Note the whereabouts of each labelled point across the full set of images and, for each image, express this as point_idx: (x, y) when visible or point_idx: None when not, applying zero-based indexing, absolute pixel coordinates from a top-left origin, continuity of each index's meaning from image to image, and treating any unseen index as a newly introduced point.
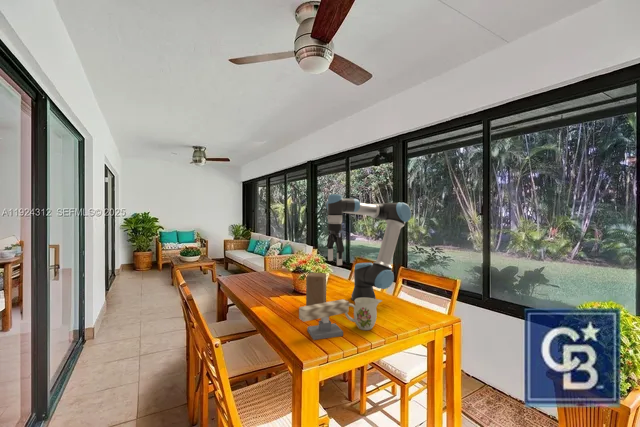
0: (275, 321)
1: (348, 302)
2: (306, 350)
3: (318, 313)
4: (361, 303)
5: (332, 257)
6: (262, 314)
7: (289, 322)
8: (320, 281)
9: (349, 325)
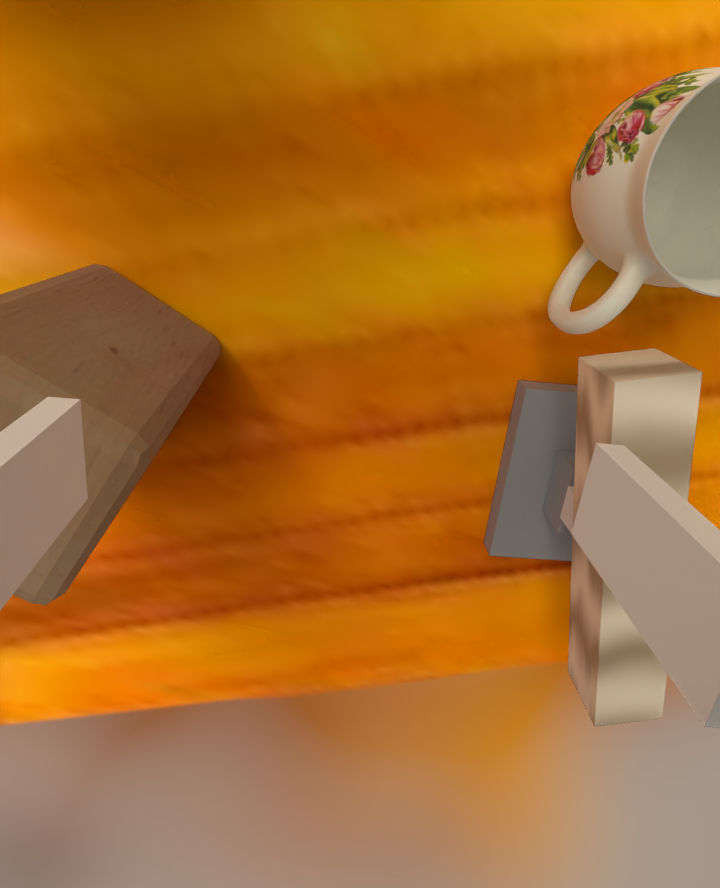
0: (279, 650)
1: (698, 371)
2: None
3: None
4: (630, 167)
5: (51, 440)
6: (142, 688)
7: (324, 591)
8: (152, 456)
9: (540, 275)
